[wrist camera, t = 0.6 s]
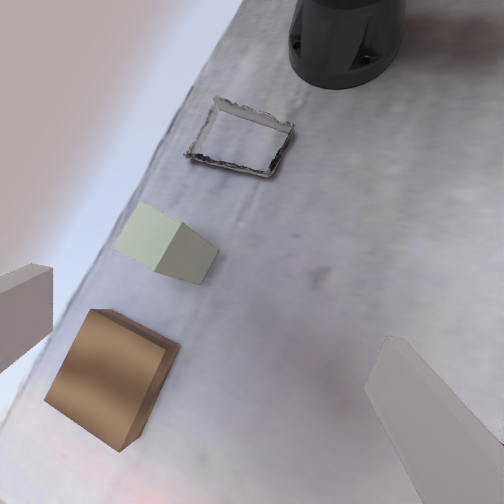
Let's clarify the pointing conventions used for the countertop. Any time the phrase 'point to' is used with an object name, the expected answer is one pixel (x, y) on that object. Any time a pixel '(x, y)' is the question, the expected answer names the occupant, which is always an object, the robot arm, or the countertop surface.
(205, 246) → the sage block
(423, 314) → the countertop surface
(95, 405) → the walnut block
